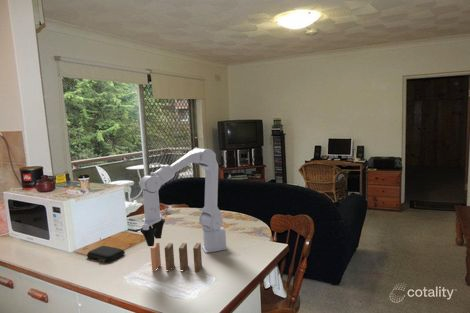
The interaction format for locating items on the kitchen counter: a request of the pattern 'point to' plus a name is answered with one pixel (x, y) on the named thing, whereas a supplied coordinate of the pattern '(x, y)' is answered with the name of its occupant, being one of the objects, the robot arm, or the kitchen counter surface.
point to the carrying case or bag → (106, 253)
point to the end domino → (155, 256)
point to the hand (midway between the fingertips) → (154, 242)
